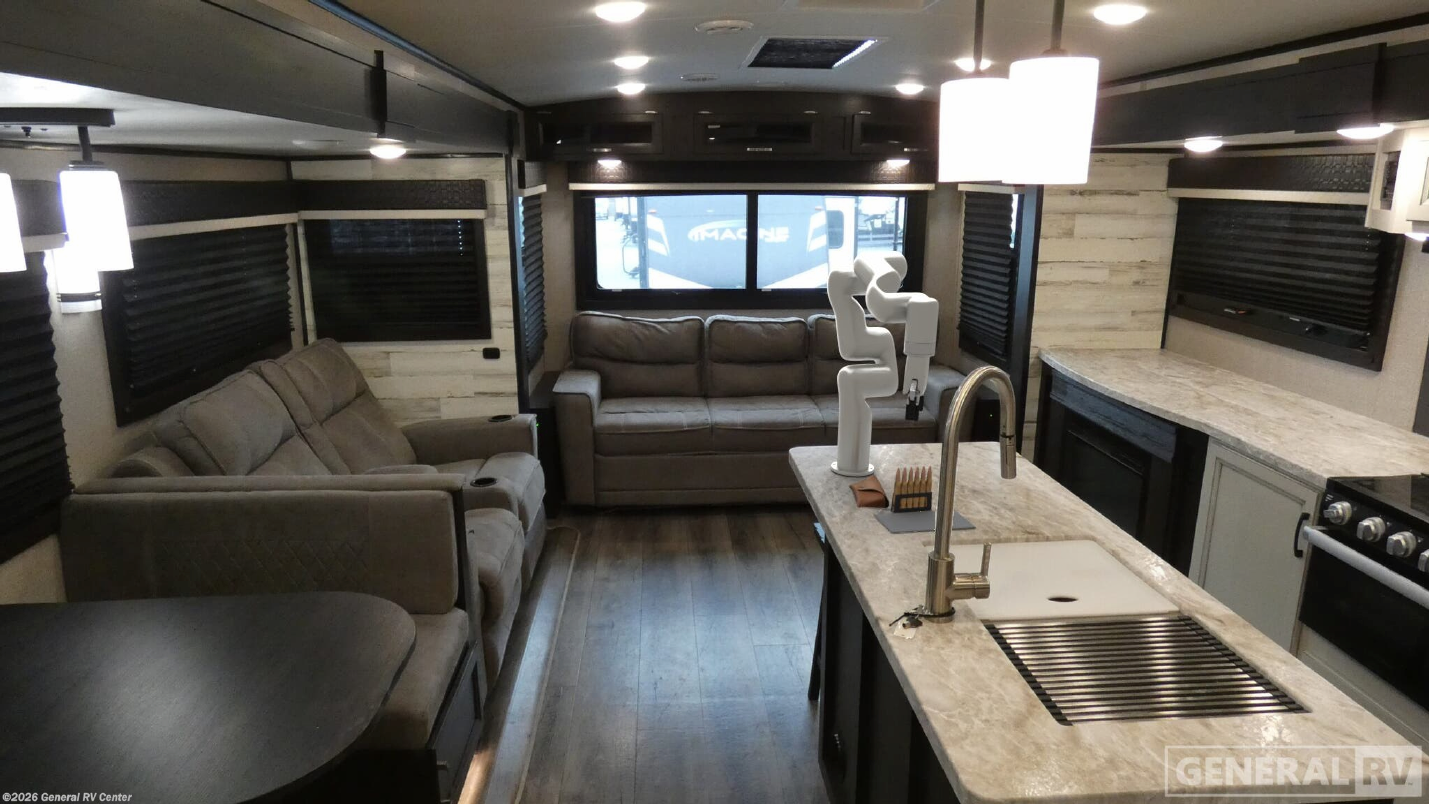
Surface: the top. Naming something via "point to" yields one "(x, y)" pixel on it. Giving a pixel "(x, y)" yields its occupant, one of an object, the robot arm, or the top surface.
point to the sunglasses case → (870, 493)
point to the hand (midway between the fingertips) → (914, 415)
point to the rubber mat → (918, 521)
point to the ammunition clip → (912, 492)
